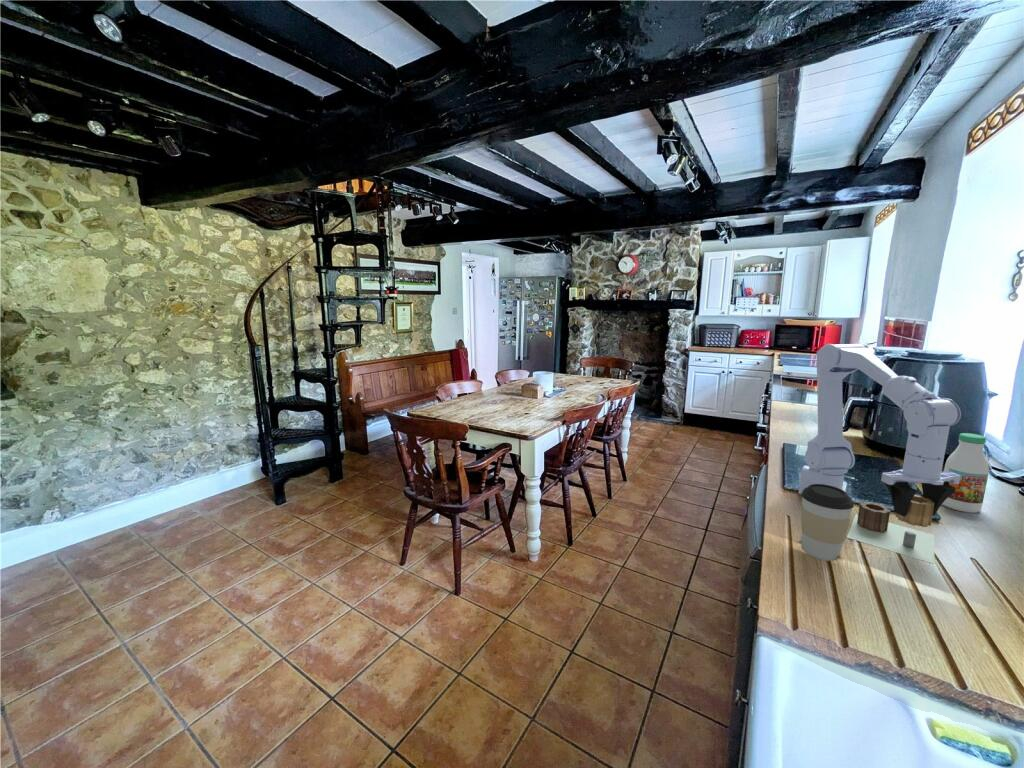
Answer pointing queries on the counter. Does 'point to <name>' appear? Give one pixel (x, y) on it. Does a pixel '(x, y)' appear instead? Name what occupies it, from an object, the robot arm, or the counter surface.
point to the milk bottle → (968, 474)
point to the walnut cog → (873, 517)
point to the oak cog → (919, 512)
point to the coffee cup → (824, 520)
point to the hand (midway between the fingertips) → (914, 513)
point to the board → (897, 540)
